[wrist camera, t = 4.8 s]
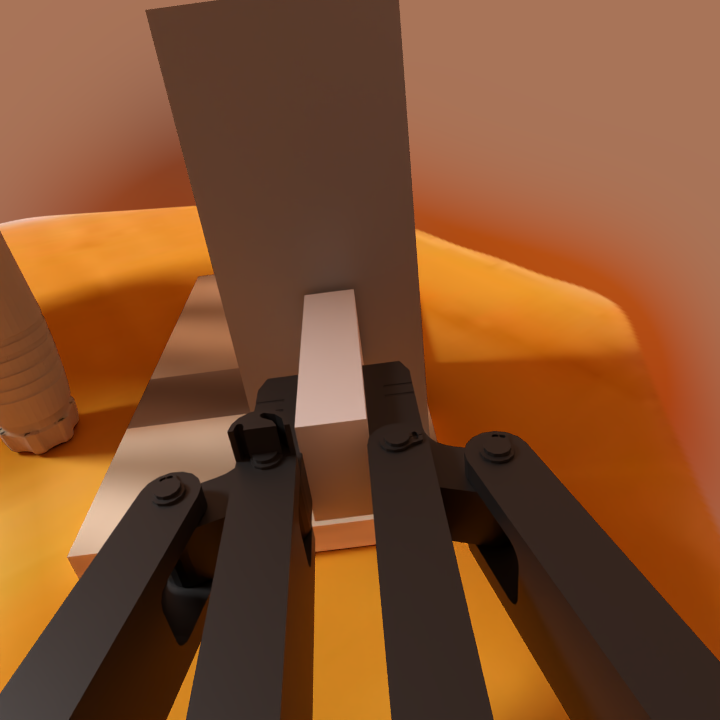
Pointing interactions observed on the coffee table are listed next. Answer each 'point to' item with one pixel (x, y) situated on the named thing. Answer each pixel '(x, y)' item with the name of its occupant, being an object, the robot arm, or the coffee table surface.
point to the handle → (29, 369)
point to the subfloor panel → (190, 428)
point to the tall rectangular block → (298, 170)
